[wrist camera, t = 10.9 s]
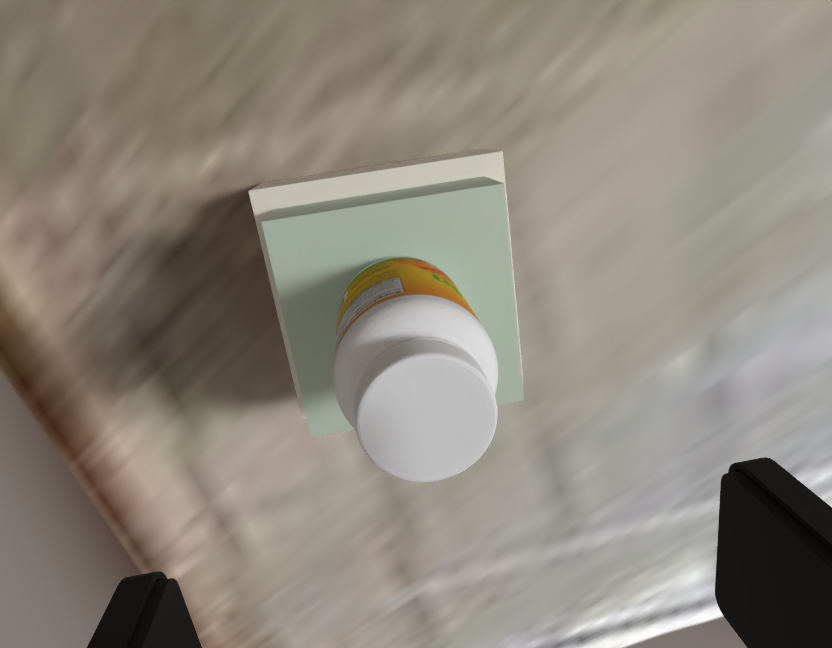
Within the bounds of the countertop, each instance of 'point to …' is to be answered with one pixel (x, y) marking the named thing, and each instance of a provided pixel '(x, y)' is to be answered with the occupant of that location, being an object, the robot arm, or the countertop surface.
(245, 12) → the countertop surface
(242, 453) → the countertop surface
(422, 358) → the supplement bottle
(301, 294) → the block
